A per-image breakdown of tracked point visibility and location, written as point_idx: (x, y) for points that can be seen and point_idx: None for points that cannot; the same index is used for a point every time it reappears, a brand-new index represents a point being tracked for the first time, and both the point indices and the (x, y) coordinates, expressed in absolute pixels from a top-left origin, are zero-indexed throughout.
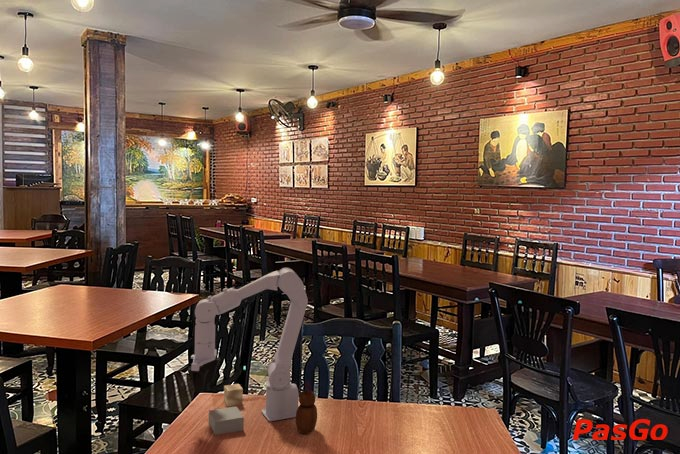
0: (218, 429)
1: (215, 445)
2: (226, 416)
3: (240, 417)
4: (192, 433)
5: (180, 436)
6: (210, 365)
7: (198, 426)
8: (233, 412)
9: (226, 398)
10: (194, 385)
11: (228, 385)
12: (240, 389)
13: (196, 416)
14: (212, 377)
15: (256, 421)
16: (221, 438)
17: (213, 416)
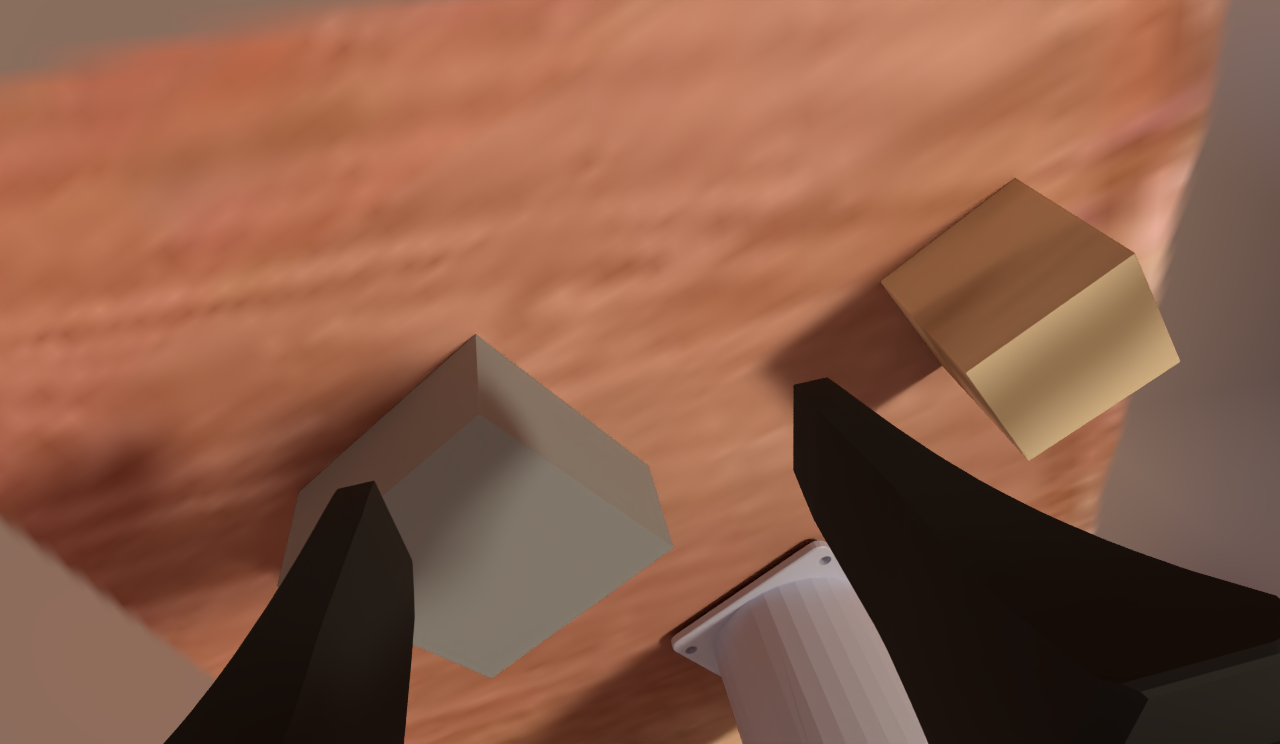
0: None
1: (151, 580)
2: (436, 593)
3: (476, 665)
4: (193, 332)
5: (48, 271)
6: (964, 723)
7: (360, 294)
8: (541, 590)
9: (948, 288)
10: (290, 591)
11: (1135, 296)
12: (1017, 447)
13: (564, 137)
14: (837, 544)
15: (653, 582)
16: (279, 554)
17: None
